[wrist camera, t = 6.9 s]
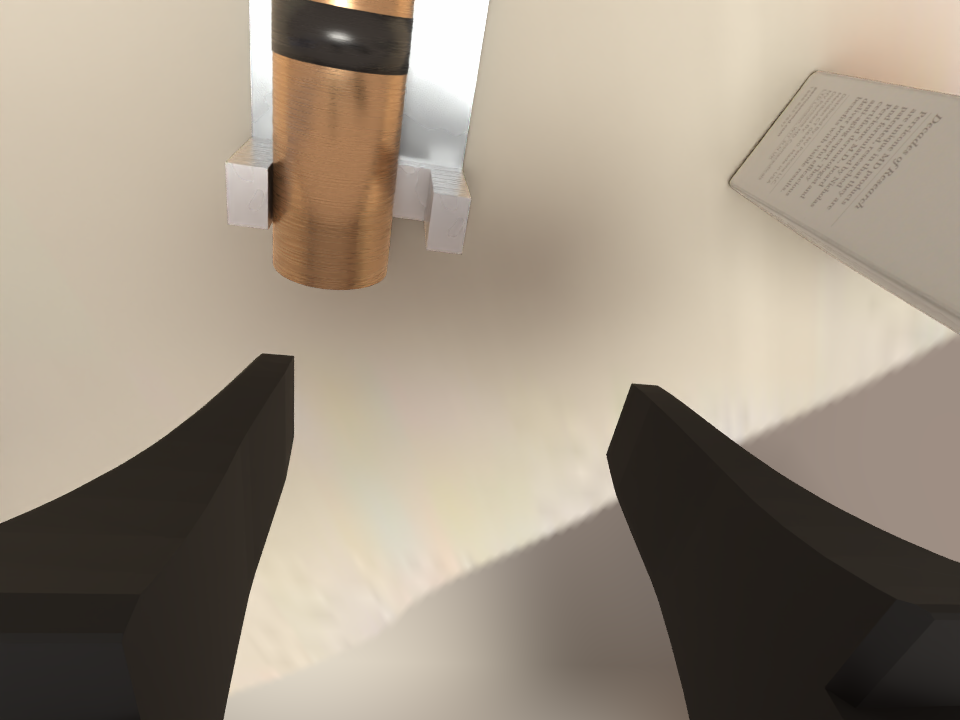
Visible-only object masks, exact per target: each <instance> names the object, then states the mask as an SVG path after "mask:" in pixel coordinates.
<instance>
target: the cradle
mask: <svg viewBox="0 0 960 720" xmlns="http://www.w3.org/2000/svg"><path fill="white" fill-rule="evenodd" d="M488 4H489V0H415V4H414V14H413V18H414V22H413V32H412V41H411V51H410V60H409V70H408V74H407V81H406V91H405V100H404V110H403V120H402V129H401V139H400V149H399V158H398V168H397V177H396V187H395V197H394V206H393V216H392V217H397V218H405V219H412V220H419V221H424V229H425V242H426V250H431V251H439V252H447V253H454V254H462V250H463V244H464V238H465V232H466V226H467V220H468V214H469V209H470V203H471V196H470V193H469V190H468V186H467V183H466V180H465V177H464V174H463V170H462V167H463V161H464V155H465V149H466V142H467V136H468V130H469V124H470V117H471V111H472V105H473V98H474V92H475V86H476V80H477V73H478V67H479V61H480V55H481V48H482V42H483V36H484V29H485V23H486V17H487V11H488ZM249 13H250V64H251V115H252V137H251V138H250V139H249V140H248V141H247V142H246V143H245V144H244V145H243V146H242V147H241V148H240V149H239V150H238V151H237V152H236V153H234V154H233V155H232V156H231V157H230V158H229V159H228V160H227V161H226V162H225V165H226V189H227V212H228V224H229V225H237V226H245V227H252V228H260V229H269V227H270V225H271V223H272V222H273V104H272V50H271V0H249Z"/></svg>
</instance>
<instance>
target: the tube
mask: <svg viewBox="0 0 960 720" xmlns="http://www.w3.org/2000/svg"><path fill="white" fill-rule="evenodd" d="M414 4H415V0H271V50H272V104H273V266H274V268H275V269H276V270H277V272H278V273H280V274H281V275H282V276H284V277H286V278H287V279H289V280H292V281H294V282H297V283H299V284H303V285H306V286H311V287H315V288H322V289H332V290H350V289H359V288H364V287H368V286H371V285H374V284H376V283H378V282H380V281H381V280H382V279H384V277H385V276H386V273H387V264H388V255H389V245H390V235H391V226H392V216H393V206H394V197H395V187H396V177H397V168H398V158H399V149H400V139H401V129H402V120H403V110H404V100H405V91H406V81H407V74H408V70H409V60H410V51H411V41H412V32H413V22H414V18H413V14H414Z"/></svg>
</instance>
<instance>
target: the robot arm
mask: <svg viewBox="0 0 960 720" xmlns="http://www.w3.org/2000/svg"><path fill="white" fill-rule="evenodd" d="M293 438H294V356H287V355H275V354H263V353H262V354H261V355H260V356H258V357H257V358H256V359H255V360H254V361H253V362H252V363H251V364H250V365H249V366H248V367H247V368H245V369H244V370H243V371H242V372H241V373H240V374H239V375H238V376H237V377H236V378H235V379H234V380H233V381H232V382H231V383H230V384H228V385H227V386H226V387H225V388H224V389H223V390H222V391H221V392H220V393H218V394H217V395H216V396H215V397H214V398H213V399H211V400H210V401H209V402H208V403H207V404H206V405H205V406H203V407H202V408H201V409H200V410H199V411H197V412H196V413H195V414H194V415H192V416H191V417H190V418H188V419H187V420H186V421H184V422H183V423H182V424H181V425H179V426H178V427H177V428H175V429H174V430H173V431H171V432H170V433H169V434H168V435H166V436H165V437H163V438H162V439H161V440H159V441H158V442H156V443H155V444H153V445H152V446H150V447H149V448H147V449H146V450H144V451H143V452H141V453H139V454H138V455H136V456H135V457H133V458H131V459H130V460H128V461H127V462H125V463H123V464H121V465H120V466H118V467H116V468H115V469H113V470H111V471H109V472H107V473H105V474H103V475H101V476H99V477H98V478H96V479H94V480H92V481H90V482H88V483H86V484H84V485H83V486H81V487H79V488H77V489H75V490H73V491H71V492H69V493H67V494H65V495H63V496H61V497H59V498H57V499H55V500H53V501H51V502H48V503H46V504H44V505H42V506H40V507H38V508H35V509H33V510H31V511H29V512H26V513H24V514H22V515H19V516H17V517H15V518H12V519H10V520H8V521H5V522H3V523H1V524H0V720H223V719H224V713H225V708H226V703H227V698H228V693H229V688H230V683H231V678H232V674H233V669H234V664H235V659H236V654H237V649H238V644H239V640H240V635H241V630H242V626H243V621H244V616H245V612H246V607H247V602H248V598H249V594H250V590H251V587H252V583H253V579H254V576H255V572H256V569H257V566H258V563H259V560H260V557H261V554H262V551H263V548H264V545H265V542H266V539H267V536H268V533H269V530H270V527H271V524H272V521H273V517H274V514H275V511H276V508H277V505H278V502H279V499H280V496H281V493H282V490H283V486H284V483H285V480H286V476H287V470H288V465H289V460H290V455H291V449H292V444H293ZM606 455H607V460H608V464H609V469H610V473H611V477H612V481H613V485H614V489H615V492H616V496H617V498H618V501H619V503H620V506H621V508H622V511H623V513H624V516H625V518H626V521H627V523H628V525H629V528H630V531H631V533H632V536H633V538H634V540H635V543H636V545H637V547H638V550H639V552H640V555H641V557H642V560H643V562H644V564H645V567H646V569H647V572H648V574H649V576H650V579H651V581H652V584H653V587H654V590H655V593H656V595H657V598H658V601H659V604H660V607H661V611H662V614H663V618H664V621H665V625H666V628H667V632H668V635H669V638H670V642H671V645H672V649H673V653H674V657H675V661H676V665H677V669H678V673H679V676H680V680H681V684H682V688H683V692H684V696H685V701H686V705H687V710H688V714H689V719H690V720H960V563H959V562H956V561H953V560H950V559H948V558H946V557H943V556H940V555H938V554H936V553H933V552H931V551H929V550H926V549H924V548H922V547H919V546H917V545H915V544H912V543H910V542H908V541H905V540H903V539H901V538H898V537H896V536H894V535H892V534H890V533H888V532H886V531H883V530H881V529H879V528H877V527H875V526H873V525H871V524H869V523H867V522H865V521H863V520H861V519H859V518H857V517H855V516H853V515H851V514H849V513H847V512H845V511H843V510H841V509H839V508H838V507H836V506H834V505H832V504H830V503H828V502H827V501H825V500H823V499H821V498H819V497H818V496H816V495H815V494H813V493H811V492H809V491H808V490H806V489H804V488H803V487H801V486H799V485H798V484H796V483H794V482H792V481H791V480H789V479H788V478H786V477H785V476H783V475H781V474H780V473H778V472H777V471H775V470H774V469H772V468H771V467H769V466H768V465H766V464H765V463H764V462H762V461H761V460H759V459H758V458H756V457H755V456H753V455H752V454H750V453H749V452H747V451H746V450H745V449H743V448H742V447H741V446H739V445H738V444H737V443H735V442H734V441H732V440H731V439H730V438H728V437H727V436H726V435H724V434H723V433H722V432H720V431H719V430H718V429H716V428H715V427H714V426H712V425H711V424H710V423H709V422H707V421H706V420H705V419H703V418H702V417H701V416H699V415H698V414H697V413H695V412H694V411H693V410H692V409H690V408H689V407H688V406H686V405H685V404H684V403H682V402H681V401H679V400H678V399H677V398H675V397H674V396H673V395H671V394H670V393H668V392H667V391H665V390H664V389H662V388H660V387H659V386H656V385H643V384H631V387H630V390H629V392H628V395H627V398H626V401H625V404H624V406H623V409H622V412H621V415H620V418H619V420H618V423H617V426H616V429H615V432H614V434H613V437H612V440H611V443H610V446H609V448H608V451H607V454H606Z"/></svg>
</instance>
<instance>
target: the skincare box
mask: <svg viewBox="0 0 960 720" xmlns="http://www.w3.org/2000/svg"><path fill="white" fill-rule="evenodd" d="M730 186H731V187H732V188H733V189H734V190H736V191H737V192H739V193H740V194H742V195H743V196H744V197H746V198H747V199H749V200H750V201H751V202H753V203H754V204H756V205H757V206H758V207H760V208H761V209H763V210H764V211H765V212H767V213H768V214H770V215H771V216H773V217H774V218H776V219H777V220H778V221H780V222H781V223H783V224H784V225H786V226H787V227H789V228H790V229H792V230H793V231H795V232H796V233H798V234H799V235H801V236H802V237H804V238H805V239H807V240H808V241H810V242H811V243H813V244H814V245H816V246H817V247H819V248H820V249H822V250H823V251H825V252H826V253H828V254H829V255H831V256H832V257H834V258H836V259H837V260H839V261H840V262H842V263H843V264H845V265H846V266H848V267H850V268H851V269H853V270H854V271H856V272H858V273H859V274H861V275H863V276H864V277H866V278H868V279H869V280H871V281H872V282H874V283H876V284H877V285H879V286H880V287H882V288H884V289H885V290H887V291H889V292H890V293H892V294H894V295H895V296H897V297H898V298H900V299H902V300H903V301H905V302H906V303H908V304H910V305H911V306H913V307H915V308H916V309H918V310H920V311H921V312H923V313H925V314H926V315H928V316H930V317H931V318H933V319H934V320H936V321H938V322H939V323H941V324H943V325H944V326H946V327H948V328H949V329H951V330H952V331H954V332H956V333H957V334H959V335H960V96H956V95H951V94H945V93H940V92H935V91H929V90H922V89H916V88H912V87H906V86H902V85H896V84H889V83H884V82H879V81H874V80H868V79H862V78H858V77H851V76H845V75H840V74H834V73H828V72H824V71H817V72H815V73H813V74H812V75H811V76H809V78H808V79H807V80H806V82H805V83H804V84H803V86H802V87H801V89H800V90H799V91H798V93H797V94H796V95H795V97H794V98H793V99H792V101H791V102H790V103H789V105H788V106H787V107H786V108H785V110H784V111H783V112H782V114H781V115H780V116H779V118H778V119H777V120H776V122H775V123H774V124H773V126H772V127H771V128H770V129H769V131H768V132H767V133H766V135H765V136H764V137H763V139H762V140H761V141H760V143H759V144H758V145H757V146H756V148H755V149H754V150H753V152H752V153H751V154H750V155H749V157H748V158H747V159H746V161H745V162H744V163H743V165H742V166H741V167H740V168H739V170H738V171H737V172H736V174H735V175H734V176H733V178H732V179H731V180H730Z"/></svg>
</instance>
